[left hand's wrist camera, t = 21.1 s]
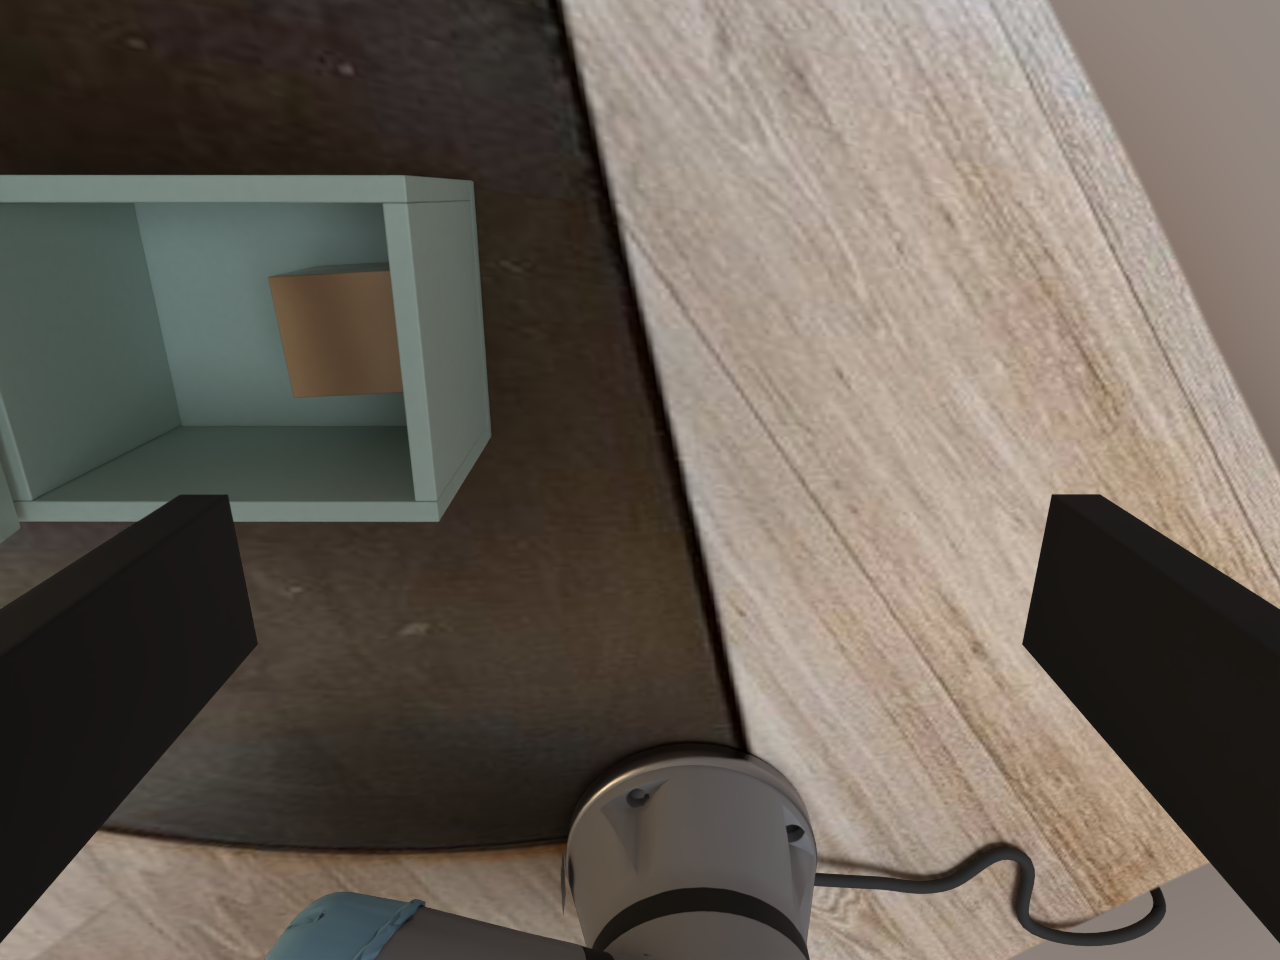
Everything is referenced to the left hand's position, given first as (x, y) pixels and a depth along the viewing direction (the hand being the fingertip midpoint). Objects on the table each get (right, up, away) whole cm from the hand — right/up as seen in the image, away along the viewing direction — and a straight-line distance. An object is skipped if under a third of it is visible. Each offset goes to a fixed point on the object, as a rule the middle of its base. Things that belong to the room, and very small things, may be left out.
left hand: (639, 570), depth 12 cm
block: (-12, +9, +24) cm, 28 cm away
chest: (-16, +9, +25) cm, 30 cm away
